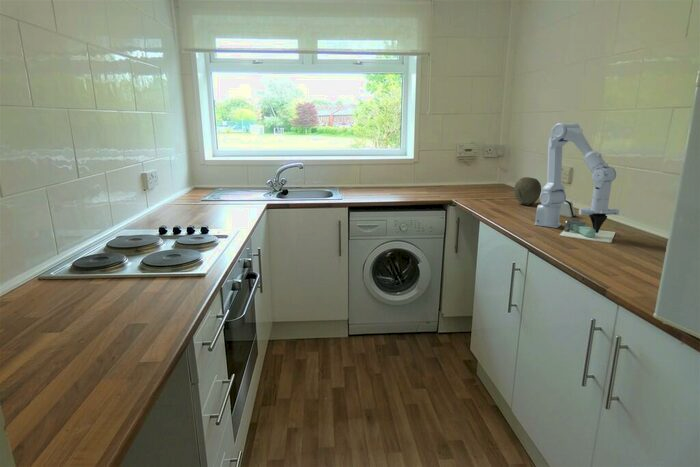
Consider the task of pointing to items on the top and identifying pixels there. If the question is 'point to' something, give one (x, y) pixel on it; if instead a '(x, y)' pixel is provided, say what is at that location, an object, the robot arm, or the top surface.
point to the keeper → (567, 223)
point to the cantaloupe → (527, 190)
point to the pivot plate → (600, 236)
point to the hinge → (567, 209)
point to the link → (583, 230)
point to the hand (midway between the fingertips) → (595, 232)
